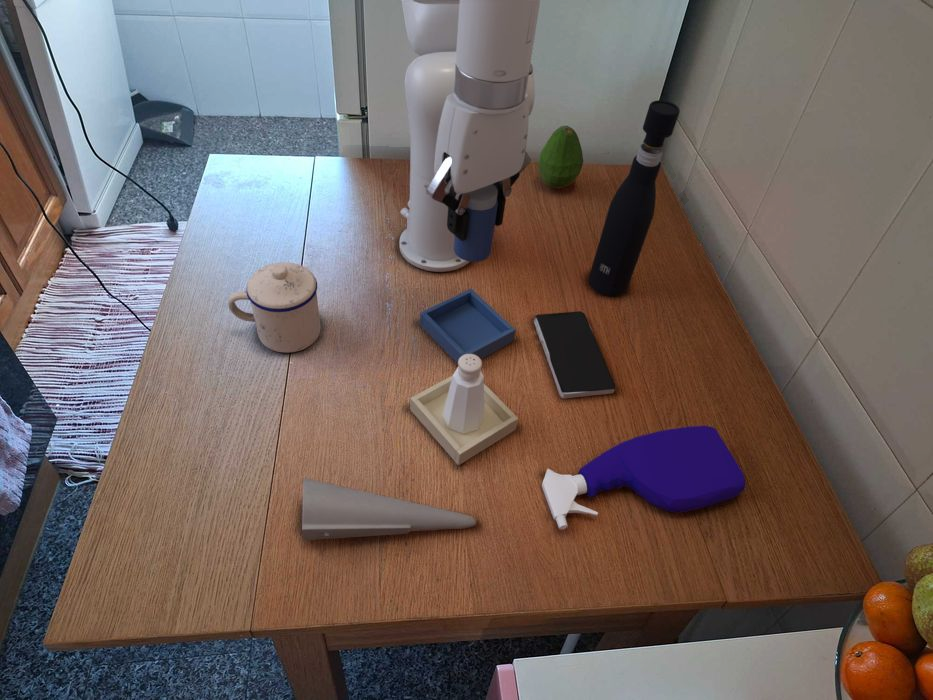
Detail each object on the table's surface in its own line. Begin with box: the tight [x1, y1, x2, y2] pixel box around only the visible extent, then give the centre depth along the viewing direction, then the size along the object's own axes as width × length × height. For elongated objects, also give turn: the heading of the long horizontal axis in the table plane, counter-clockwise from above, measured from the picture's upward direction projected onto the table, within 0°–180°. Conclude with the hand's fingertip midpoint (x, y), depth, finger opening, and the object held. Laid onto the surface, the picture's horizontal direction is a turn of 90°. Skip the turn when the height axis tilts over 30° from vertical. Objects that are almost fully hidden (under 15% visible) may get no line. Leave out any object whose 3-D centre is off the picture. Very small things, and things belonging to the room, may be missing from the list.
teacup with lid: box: [227, 261, 322, 354], centre depth 87 cm, size 12×9×12 cm
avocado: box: [538, 125, 584, 189], centre depth 118 cm, size 8×8×12 cm
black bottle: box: [587, 99, 681, 297], centre depth 93 cm, size 6×6×30 cm
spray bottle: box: [541, 425, 747, 530], centre depth 78 cm, size 3×11×24 cm
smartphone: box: [533, 310, 616, 399], centre depth 93 cm, size 8×1×15 cm
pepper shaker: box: [454, 184, 498, 263], centre depth 79 cm, size 5×5×9 cm
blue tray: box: [419, 288, 517, 364], centre depth 93 cm, size 10×9×2 cm
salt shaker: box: [442, 354, 485, 434], centre depth 79 cm, size 5×5×11 cm
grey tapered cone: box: [301, 477, 477, 541], centre depth 73 cm, size 6×6×19 cm
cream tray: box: [409, 374, 519, 466], centre depth 83 cm, size 10×9×2 cm
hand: (474, 225), depth 80 cm, fingers closed on pepper shaker, 4 cm apart
